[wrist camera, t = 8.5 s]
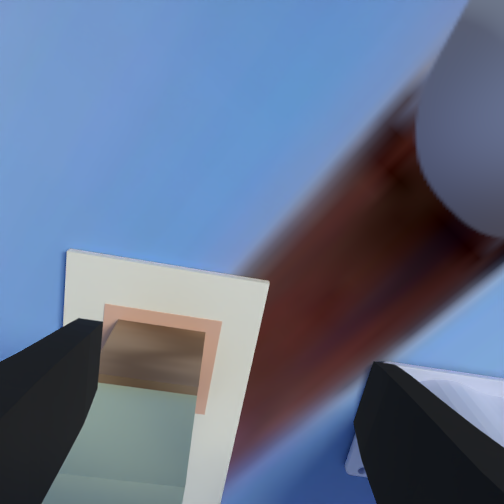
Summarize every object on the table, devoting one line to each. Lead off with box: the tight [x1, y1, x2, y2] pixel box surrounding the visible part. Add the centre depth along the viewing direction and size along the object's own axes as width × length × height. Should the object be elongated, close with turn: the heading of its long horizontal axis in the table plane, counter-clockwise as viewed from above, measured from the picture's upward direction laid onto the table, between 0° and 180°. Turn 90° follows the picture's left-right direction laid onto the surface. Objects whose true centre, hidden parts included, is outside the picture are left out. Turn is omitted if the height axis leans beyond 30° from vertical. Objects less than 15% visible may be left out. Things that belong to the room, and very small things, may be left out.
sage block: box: [42, 383, 197, 504], centre depth 16 cm, size 4×4×4 cm
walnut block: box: [98, 319, 206, 396], centre depth 20 cm, size 4×4×4 cm
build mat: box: [63, 249, 269, 504], centre depth 23 cm, size 10×17×1 cm, turn 169°
